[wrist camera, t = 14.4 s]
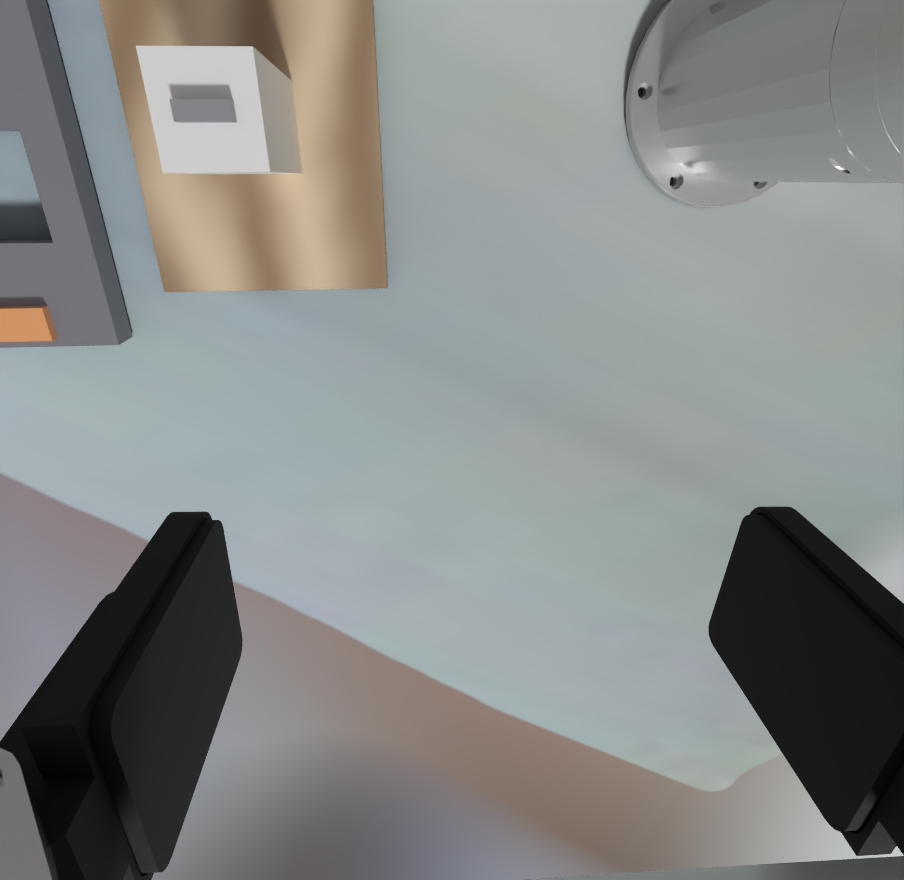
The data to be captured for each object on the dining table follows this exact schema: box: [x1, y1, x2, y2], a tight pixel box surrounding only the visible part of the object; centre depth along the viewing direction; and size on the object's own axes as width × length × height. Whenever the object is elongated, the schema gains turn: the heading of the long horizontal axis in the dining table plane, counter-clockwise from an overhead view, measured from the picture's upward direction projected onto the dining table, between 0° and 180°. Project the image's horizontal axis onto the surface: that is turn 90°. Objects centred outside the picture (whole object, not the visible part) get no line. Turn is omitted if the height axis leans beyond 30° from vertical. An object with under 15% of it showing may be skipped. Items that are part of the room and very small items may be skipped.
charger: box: [136, 46, 303, 174], centre depth 27 cm, size 5×5×10 cm
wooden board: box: [99, 0, 388, 292], centre depth 32 cm, size 14×18×1 cm
